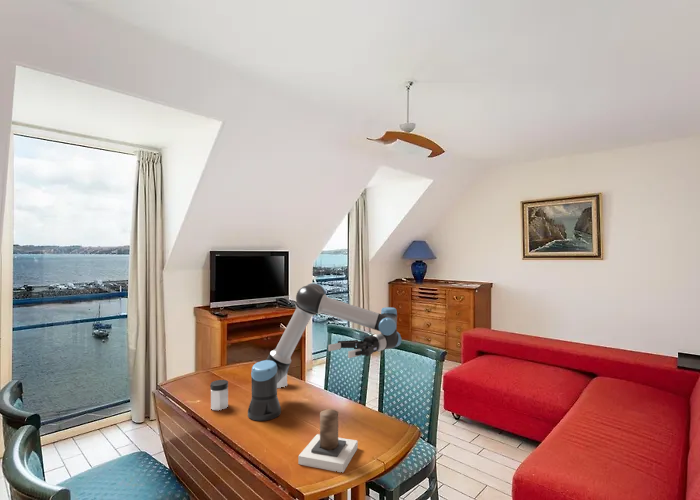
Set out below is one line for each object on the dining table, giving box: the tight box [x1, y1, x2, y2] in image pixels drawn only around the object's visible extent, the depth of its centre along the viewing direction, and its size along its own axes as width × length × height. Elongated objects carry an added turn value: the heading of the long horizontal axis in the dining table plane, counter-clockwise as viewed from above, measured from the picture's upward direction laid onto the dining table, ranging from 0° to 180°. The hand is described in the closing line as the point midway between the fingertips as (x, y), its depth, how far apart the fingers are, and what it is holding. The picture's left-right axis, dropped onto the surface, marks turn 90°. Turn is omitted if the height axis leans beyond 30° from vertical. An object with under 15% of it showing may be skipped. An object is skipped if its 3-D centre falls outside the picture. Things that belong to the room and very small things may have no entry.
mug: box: [277, 373, 288, 389], centre depth 215 cm, size 12×8×12 cm
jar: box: [209, 379, 229, 411], centre depth 187 cm, size 9×8×12 cm
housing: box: [297, 433, 359, 474], centre depth 143 cm, size 17×17×4 cm
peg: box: [319, 409, 339, 450], centre depth 143 cm, size 7×7×16 cm
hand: (338, 351), depth 164 cm, fingers open, 13 cm apart
